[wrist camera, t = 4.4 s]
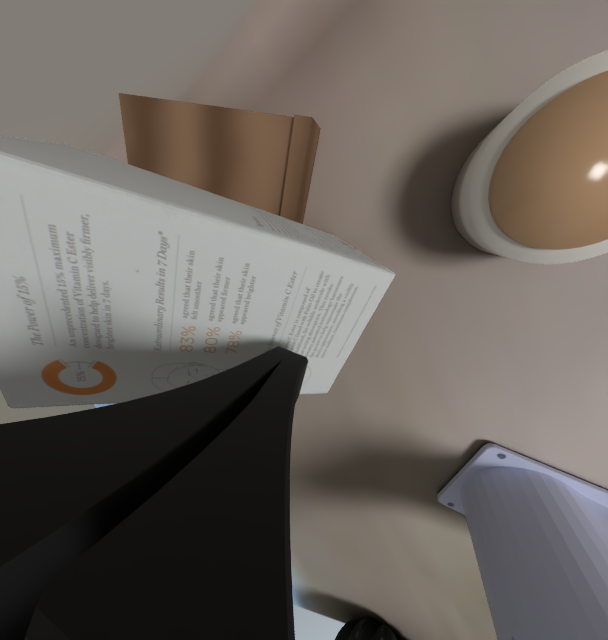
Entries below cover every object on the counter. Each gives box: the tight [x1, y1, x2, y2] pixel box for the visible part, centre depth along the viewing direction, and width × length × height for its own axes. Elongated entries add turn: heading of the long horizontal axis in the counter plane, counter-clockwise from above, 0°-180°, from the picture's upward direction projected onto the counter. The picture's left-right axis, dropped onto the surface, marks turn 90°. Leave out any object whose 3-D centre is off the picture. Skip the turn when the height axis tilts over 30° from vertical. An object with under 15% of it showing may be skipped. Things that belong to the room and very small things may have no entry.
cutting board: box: [119, 93, 320, 224], centre depth 18 cm, size 14×20×2 cm
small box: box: [0, 136, 395, 408], centre depth 11 cm, size 8×6×13 cm
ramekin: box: [451, 50, 608, 264], centre depth 9 cm, size 6×6×4 cm
